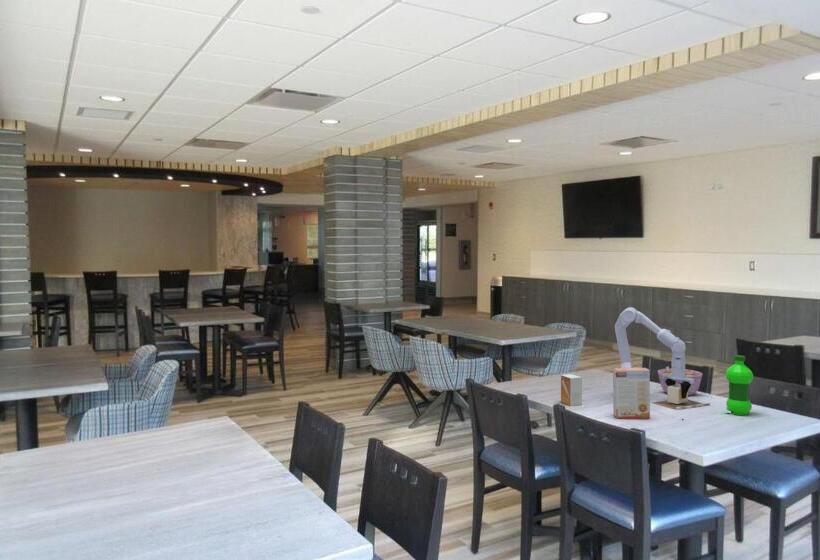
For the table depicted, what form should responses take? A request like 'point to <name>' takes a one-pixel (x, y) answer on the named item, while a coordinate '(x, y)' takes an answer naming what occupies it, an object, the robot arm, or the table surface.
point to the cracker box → (631, 393)
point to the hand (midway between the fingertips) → (677, 397)
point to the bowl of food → (689, 374)
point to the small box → (571, 389)
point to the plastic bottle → (739, 387)
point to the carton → (676, 394)
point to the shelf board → (681, 405)
